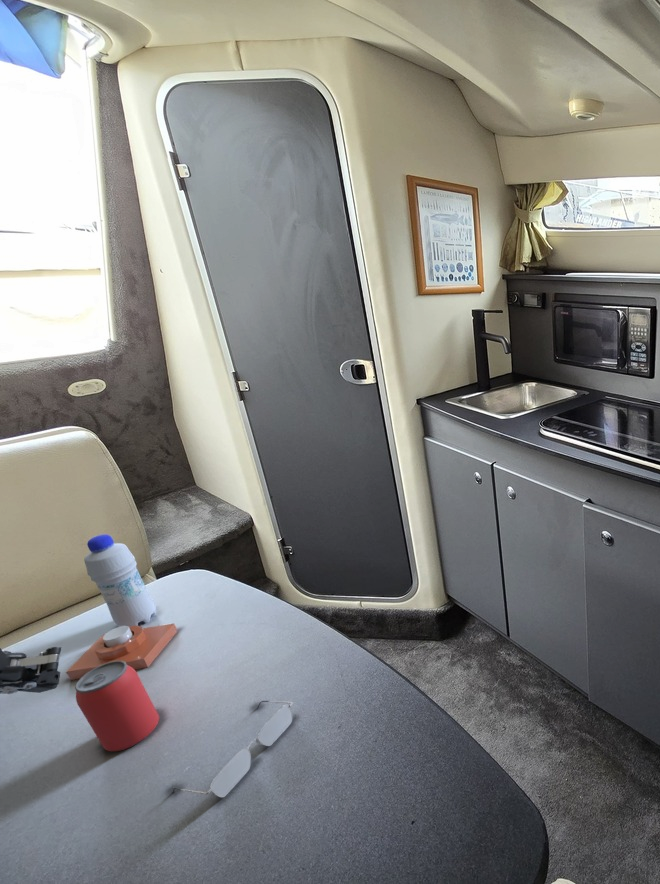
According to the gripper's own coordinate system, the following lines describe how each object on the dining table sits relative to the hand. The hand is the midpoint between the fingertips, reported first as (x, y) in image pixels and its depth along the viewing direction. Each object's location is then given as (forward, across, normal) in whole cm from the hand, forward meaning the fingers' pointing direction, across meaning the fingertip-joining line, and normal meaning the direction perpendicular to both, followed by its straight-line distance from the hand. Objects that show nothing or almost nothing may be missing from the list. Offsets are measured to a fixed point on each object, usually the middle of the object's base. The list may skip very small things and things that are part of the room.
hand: (50, 681), depth 63 cm
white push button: (+29, +10, -12) cm, 33 cm away
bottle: (+38, +12, -18) cm, 44 cm away
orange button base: (+32, +10, -10) cm, 35 cm away
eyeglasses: (+13, -16, +14) cm, 25 cm away
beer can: (+19, +1, +6) cm, 20 cm away
